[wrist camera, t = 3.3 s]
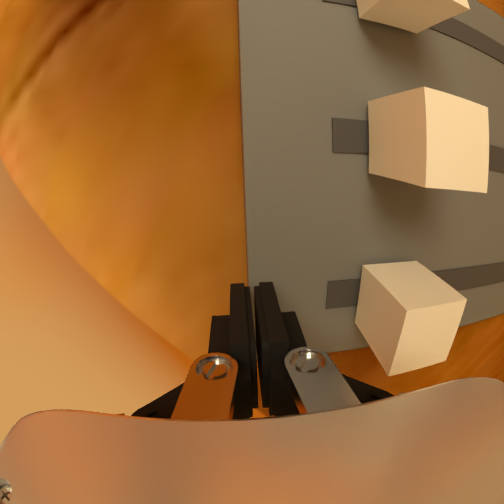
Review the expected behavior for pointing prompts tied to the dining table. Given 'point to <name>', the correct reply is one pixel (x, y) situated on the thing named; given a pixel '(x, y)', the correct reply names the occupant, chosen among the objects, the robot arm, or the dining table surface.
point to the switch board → (360, 159)
